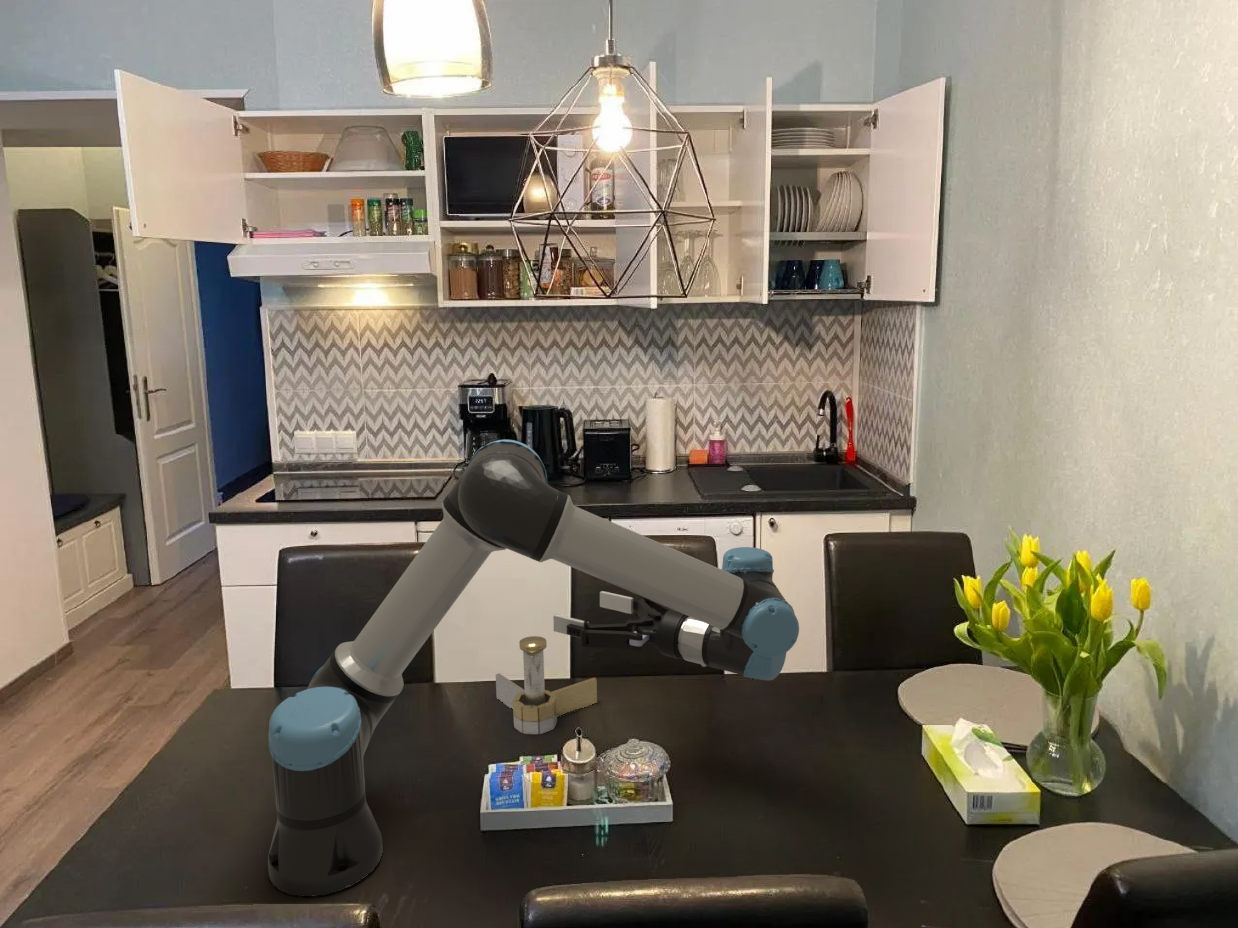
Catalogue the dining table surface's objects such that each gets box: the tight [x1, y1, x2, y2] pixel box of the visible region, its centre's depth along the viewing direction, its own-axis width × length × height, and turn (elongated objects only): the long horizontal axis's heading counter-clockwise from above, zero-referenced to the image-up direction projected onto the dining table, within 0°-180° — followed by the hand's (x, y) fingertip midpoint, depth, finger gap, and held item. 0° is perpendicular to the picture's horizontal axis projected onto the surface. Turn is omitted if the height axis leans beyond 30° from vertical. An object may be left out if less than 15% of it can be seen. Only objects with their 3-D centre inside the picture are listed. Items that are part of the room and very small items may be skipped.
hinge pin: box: [518, 635, 547, 706], centre depth 161 cm, size 5×5×16 cm
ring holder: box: [495, 672, 598, 735], centre depth 165 cm, size 14×20×5 cm
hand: (578, 610), depth 153 cm, fingers open, 13 cm apart
